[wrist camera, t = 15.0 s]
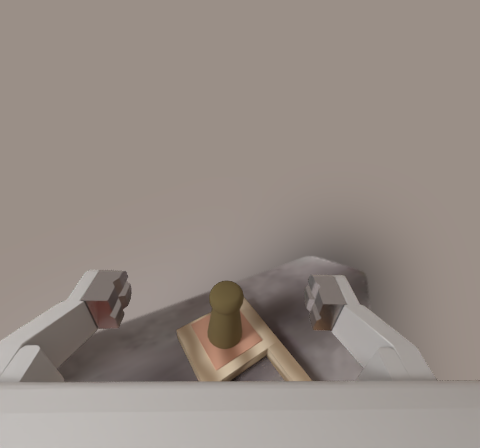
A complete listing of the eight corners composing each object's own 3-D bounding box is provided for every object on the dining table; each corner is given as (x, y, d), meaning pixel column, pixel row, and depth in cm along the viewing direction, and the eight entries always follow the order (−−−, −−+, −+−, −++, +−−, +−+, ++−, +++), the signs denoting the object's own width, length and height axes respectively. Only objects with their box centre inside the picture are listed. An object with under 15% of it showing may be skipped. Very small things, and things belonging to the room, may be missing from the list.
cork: (200, 335, 42) (197, 292, 35) (221, 310, 46) (223, 268, 39) (228, 356, 39) (231, 315, 33) (249, 328, 43) (255, 287, 37)
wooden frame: (249, 486, 29) (251, 481, 28) (177, 337, 44) (176, 329, 42) (326, 409, 36) (331, 402, 35) (241, 303, 51) (242, 294, 49)
